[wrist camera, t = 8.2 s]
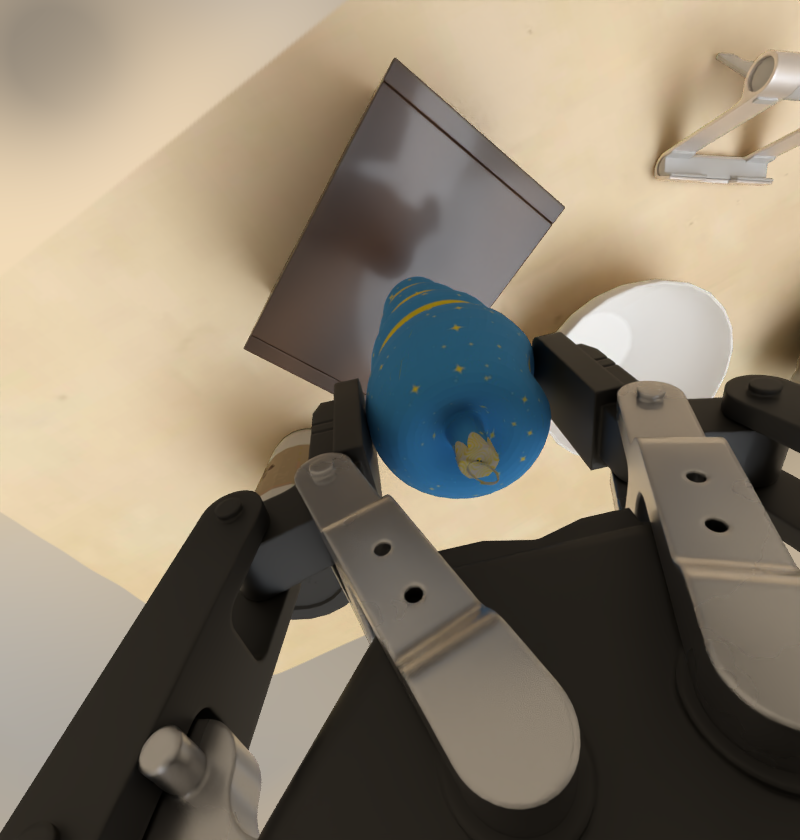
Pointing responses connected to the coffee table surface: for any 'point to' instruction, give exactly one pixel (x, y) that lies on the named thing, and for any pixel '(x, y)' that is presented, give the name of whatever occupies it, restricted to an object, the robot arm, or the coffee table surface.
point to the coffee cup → (288, 456)
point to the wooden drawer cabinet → (398, 231)
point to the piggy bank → (796, 373)
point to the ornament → (453, 393)
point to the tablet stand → (762, 88)
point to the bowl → (657, 336)
